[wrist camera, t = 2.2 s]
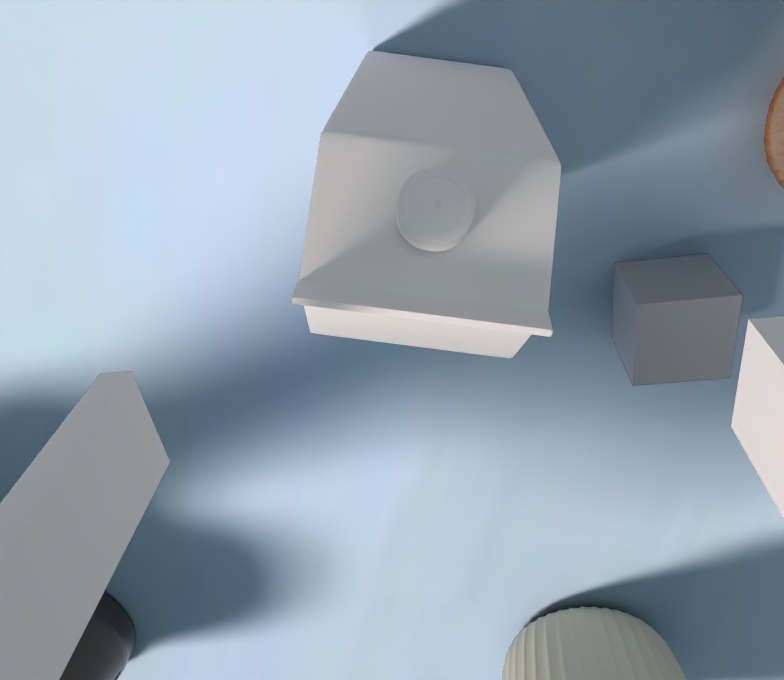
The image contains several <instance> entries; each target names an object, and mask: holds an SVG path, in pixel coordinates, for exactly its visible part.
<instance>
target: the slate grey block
mask: <svg viewBox="0 0 784 680" xmlns="http://www.w3.org/2000/svg"><path fill="white" fill-rule="evenodd" d="M742 297H743V295H742V293H741V292H740V291H739V290H738V289H737V288H736V286H735V285H734V284H733V283H732V282H731V280H730V279H729V278H728V277H727V276H726V274H725V273H724V272H723V271H722V270H721V268H720V267H719V266H718V265H717V264H716V262H715V261H714V260H713V259H712V258H711V256H710V255H709V254H708V253H706V254H696V255H686V256H676V257H666V258H657V259H647V260H637V261H627V262H617V263H615V272H614V299H613V326H612V339H613V341H614V344H615V346H616V348H617V351H618V353H619V355H620V358H621V360H622V362H623V365H624V367H625V369H626V372H627V374H628V376H629V379H630V381H631V383H632V386H635V385H648V384H661V383H674V382H686V381H699V380H712V379H725V378H730V376H731V369H732V363H733V356H734V349H735V343H736V336H737V330H738V323H739V316H740V310H741V303H742Z"/></svg>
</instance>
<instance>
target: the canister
mask: <svg viewBox="0 0 784 680" xmlns="http://www.w3.org/2000/svg"><path fill="white" fill-rule="evenodd" d="M502 680H687V679H686V677H685V675H684V673H683V671H682V669H681V667H680V665H679V663H678V661H677V659H676V657H675V656H674V654H673V652H672V651H671V649H670V648H669V646H668V645H667V643H666V642H665V640H664V639H663V638H662V637H661V636H660V635H659V634H658V633H657V632H656V631H655V630H654V629H653V628H652V627H651V626H650V625H648V624H646V623H645V622H643V621H642V620H641V619H639V618H637V617H633V616H632V615H631V614H629V613H623V612H621V611H619V610H611V609H608V608H606V607H604V608H597V607H595V606H593V607H583V606H582V607H579V608H569V609H566V610H559V611H557V612H555V613H548V614H547V615H546V616H544V617H539V618H538V619H537V620H536V621H535V622H531V623H529V624H528V626H527V627H525V628H523V629H522V630H521V631H520V633H519V634H518V635H517V636H516V637H515V638H514V640H513V642H512V644H511V646H510V647H509V649H508V652H507V655H506V659H505V662H504V666H503V673H502Z"/></svg>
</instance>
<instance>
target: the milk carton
mask: <svg viewBox="0 0 784 680" xmlns="http://www.w3.org/2000/svg"><path fill="white" fill-rule="evenodd" d="M560 177H561V163H560V161H559V159H558V156H557V154H556V152H555V151H554V149H553V147H552V145H551V143H550V141H549V139H548V137H547V135H546V133H545V131H544V130H543V128H542V126H541V124H540V122H539V120H538V118H537V116H536V114H535V112H534V111H533V109H532V107H531V105H530V103H529V101H528V99H527V97H526V95H525V93H524V92H523V90H522V88H521V86H520V84H519V82H518V80H517V78H516V76H515V74H514V73H513V71H512V70H510V69H506V68H500V67H493V66H485V65H478V64H470V63H462V62H455V61H447V60H440V59H432V58H425V57H417V56H409V55H402V54H394V53H387V52H378V51H369V52H368V53H367V54H366V56H365V57H364V59H363V61H362V63H361V64H360V66H359V68H358V70H357V71H356V73H355V75H354V77H353V78H352V80H351V82H350V84H349V85H348V87H347V89H346V90H345V92H344V94H343V96H342V97H341V99H340V101H339V103H338V104H337V106H336V108H335V110H334V111H333V113H332V115H331V117H330V118H329V120H328V122H327V124H326V126H325V128H324V130H323V132H322V133H321V136H320V143H319V149H318V156H317V162H316V169H315V176H314V182H313V189H312V196H311V202H310V209H309V216H308V222H307V229H306V236H305V243H304V249H303V256H302V262H301V269H300V276H299V281H298V284H297V286H296V289H295V291H294V294H293V296H292V302H293V304H297V305H304V309H305V313H306V317H307V321H308V325H309V329H310V332H311V333H316V334H322V335H330V336H337V337H345V338H353V339H361V340H369V341H376V342H384V343H392V344H400V345H408V346H416V347H423V348H431V349H439V350H447V351H455V352H463V353H470V354H478V355H486V356H494V357H503V358H513V356H514V355H515V354H516V353H517V352H518V351H519V349H520V348H521V347H522V346H523V345H524V343H525V342H526V341H527V340H528V339H529V337H530V336H531V335H539V336H547V337H551V336H552V334H553V328H552V324H551V321H550V317H549V314H548V309H549V299H550V288H551V277H552V266H553V255H554V244H555V233H556V222H557V210H558V199H559V188H560Z"/></svg>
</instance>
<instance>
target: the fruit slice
mask: <svg viewBox="0 0 784 680" xmlns="http://www.w3.org/2000/svg"><path fill="white" fill-rule="evenodd" d="M764 143H765V151H766V157H767V162H768V164H769V166H770V170H771V171H772V172H773V174H774V176H775V178H776V179H777V181H778V183H779V184H780V185H781V186H782V187H783V188H784V78H783V80H782V81H781V83H780V85H779V86H778V88H777V90H776V91H775V94H774V97H773V99H772V101H771V103H770V106H769V110H768V115H767V120H766V125H765V136H764Z"/></svg>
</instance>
